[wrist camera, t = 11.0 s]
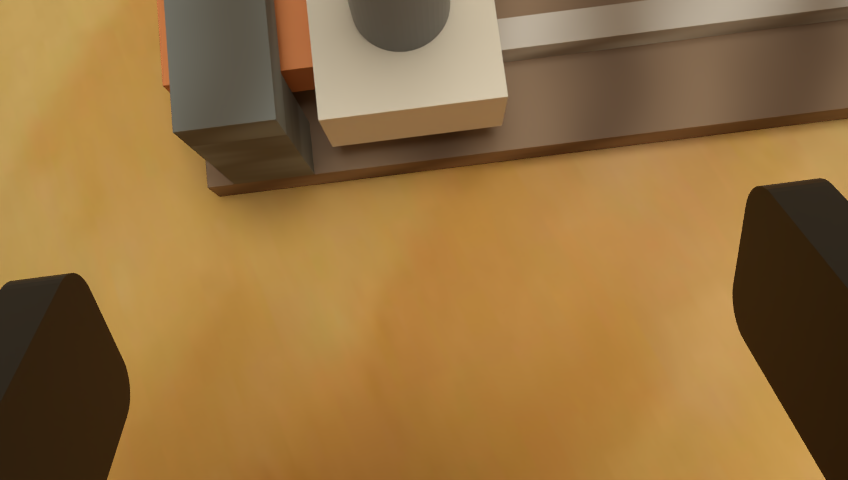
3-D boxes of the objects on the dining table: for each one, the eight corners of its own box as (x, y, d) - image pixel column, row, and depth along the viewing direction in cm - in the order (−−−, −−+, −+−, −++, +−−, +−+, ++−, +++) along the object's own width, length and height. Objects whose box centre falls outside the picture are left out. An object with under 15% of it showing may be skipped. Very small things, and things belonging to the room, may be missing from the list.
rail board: (219, 196, 30) (138, 136, 22) (204, 5, 32) (122, -115, 24) (989, 100, 30) (1183, 5, 22) (942, -89, 31) (1109, -243, 23)
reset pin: (183, 106, 27) (163, 85, 25) (177, 26, 28) (156, -1, 26) (324, 88, 27) (314, 66, 25) (316, 8, 28) (306, -20, 26)
